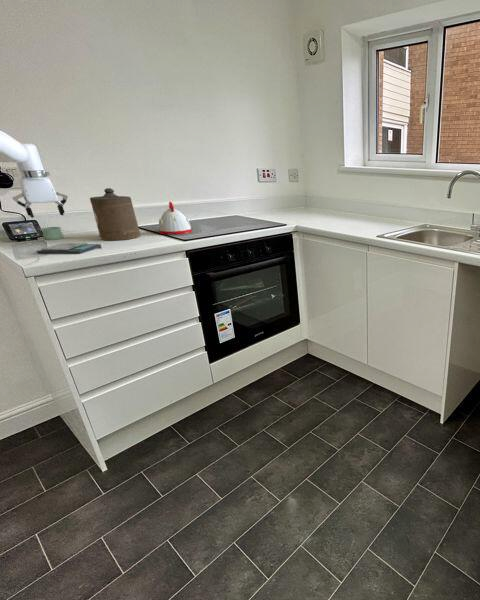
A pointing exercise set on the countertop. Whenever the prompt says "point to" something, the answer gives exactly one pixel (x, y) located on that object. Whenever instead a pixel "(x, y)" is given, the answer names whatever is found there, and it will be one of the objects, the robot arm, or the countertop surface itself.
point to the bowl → (52, 233)
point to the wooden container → (115, 216)
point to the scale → (69, 248)
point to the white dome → (173, 222)
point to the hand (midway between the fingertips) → (47, 216)
